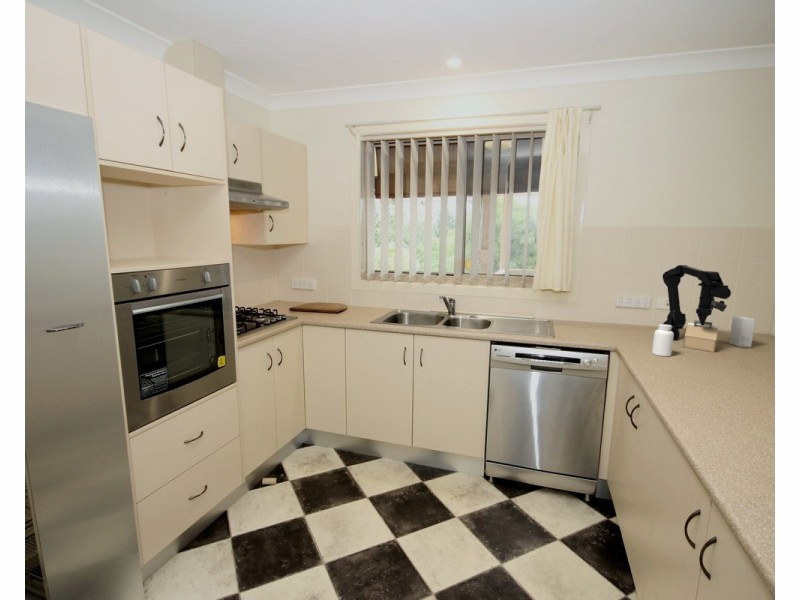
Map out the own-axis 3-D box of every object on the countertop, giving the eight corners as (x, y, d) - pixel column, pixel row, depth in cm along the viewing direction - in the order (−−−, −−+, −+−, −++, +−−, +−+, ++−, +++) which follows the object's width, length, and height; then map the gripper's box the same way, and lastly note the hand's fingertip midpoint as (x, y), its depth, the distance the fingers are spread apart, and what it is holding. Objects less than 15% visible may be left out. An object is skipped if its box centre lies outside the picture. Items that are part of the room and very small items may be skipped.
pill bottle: (668, 353, 196) (672, 324, 193) (673, 357, 188) (677, 327, 186) (649, 351, 198) (653, 322, 196) (654, 355, 191) (658, 326, 189)
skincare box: (751, 347, 210) (756, 319, 207) (737, 346, 211) (742, 318, 209) (741, 343, 218) (745, 316, 215) (727, 342, 219) (732, 315, 217)
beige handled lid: (684, 336, 206) (685, 330, 204) (688, 323, 213) (688, 317, 210) (715, 340, 198) (716, 334, 196) (718, 327, 204) (719, 321, 202)
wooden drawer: (683, 347, 207) (684, 336, 206) (685, 343, 216) (687, 332, 215) (714, 352, 199) (715, 341, 198) (715, 348, 207) (717, 337, 206)
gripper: (726, 300, 190) (721, 330, 193) (727, 294, 204) (722, 323, 207) (698, 297, 197) (693, 327, 200) (701, 292, 211) (696, 320, 214)
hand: (702, 324), depth 205 cm, fingers open, 3 cm apart
